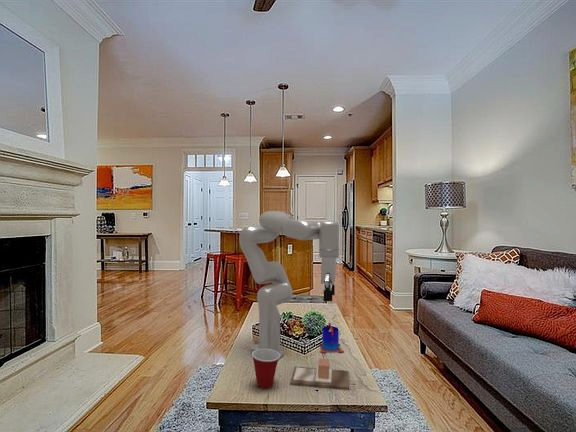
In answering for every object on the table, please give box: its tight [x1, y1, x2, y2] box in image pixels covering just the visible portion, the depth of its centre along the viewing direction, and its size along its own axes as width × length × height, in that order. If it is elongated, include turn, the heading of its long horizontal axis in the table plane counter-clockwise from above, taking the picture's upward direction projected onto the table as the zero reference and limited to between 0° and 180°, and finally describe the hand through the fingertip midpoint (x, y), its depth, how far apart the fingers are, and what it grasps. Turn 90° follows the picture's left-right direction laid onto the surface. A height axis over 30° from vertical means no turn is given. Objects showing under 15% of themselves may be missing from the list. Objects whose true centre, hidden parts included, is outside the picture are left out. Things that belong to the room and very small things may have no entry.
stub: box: [315, 358, 333, 383], centre depth 135 cm, size 6×10×6 cm, turn 171°
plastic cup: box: [251, 349, 281, 390], centre depth 130 cm, size 11×11×12 cm
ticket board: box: [289, 366, 350, 391], centre depth 135 cm, size 22×13×2 cm, turn 81°
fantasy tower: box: [318, 322, 345, 355], centre depth 164 cm, size 12×12×12 cm
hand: (329, 297), depth 133 cm, fingers open, 9 cm apart
